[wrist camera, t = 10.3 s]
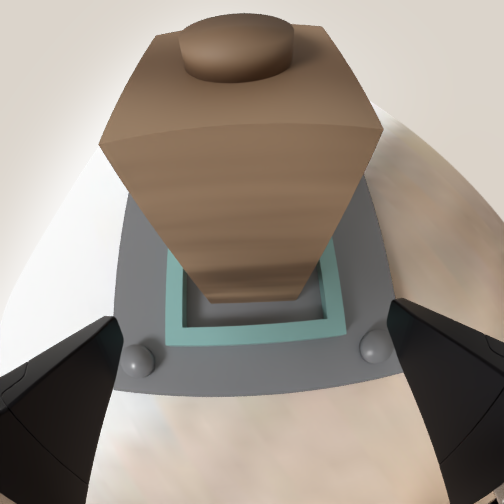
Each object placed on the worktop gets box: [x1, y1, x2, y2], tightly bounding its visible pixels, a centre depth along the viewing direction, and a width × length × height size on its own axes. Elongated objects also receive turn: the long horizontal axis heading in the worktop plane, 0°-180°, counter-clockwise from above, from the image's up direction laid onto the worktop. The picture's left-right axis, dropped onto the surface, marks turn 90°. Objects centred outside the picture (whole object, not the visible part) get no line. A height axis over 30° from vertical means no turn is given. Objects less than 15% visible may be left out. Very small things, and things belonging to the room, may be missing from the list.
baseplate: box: [114, 174, 403, 397], centre depth 17 cm, size 18×16×2 cm
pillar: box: [98, 13, 384, 304], centre depth 11 cm, size 5×5×14 cm
